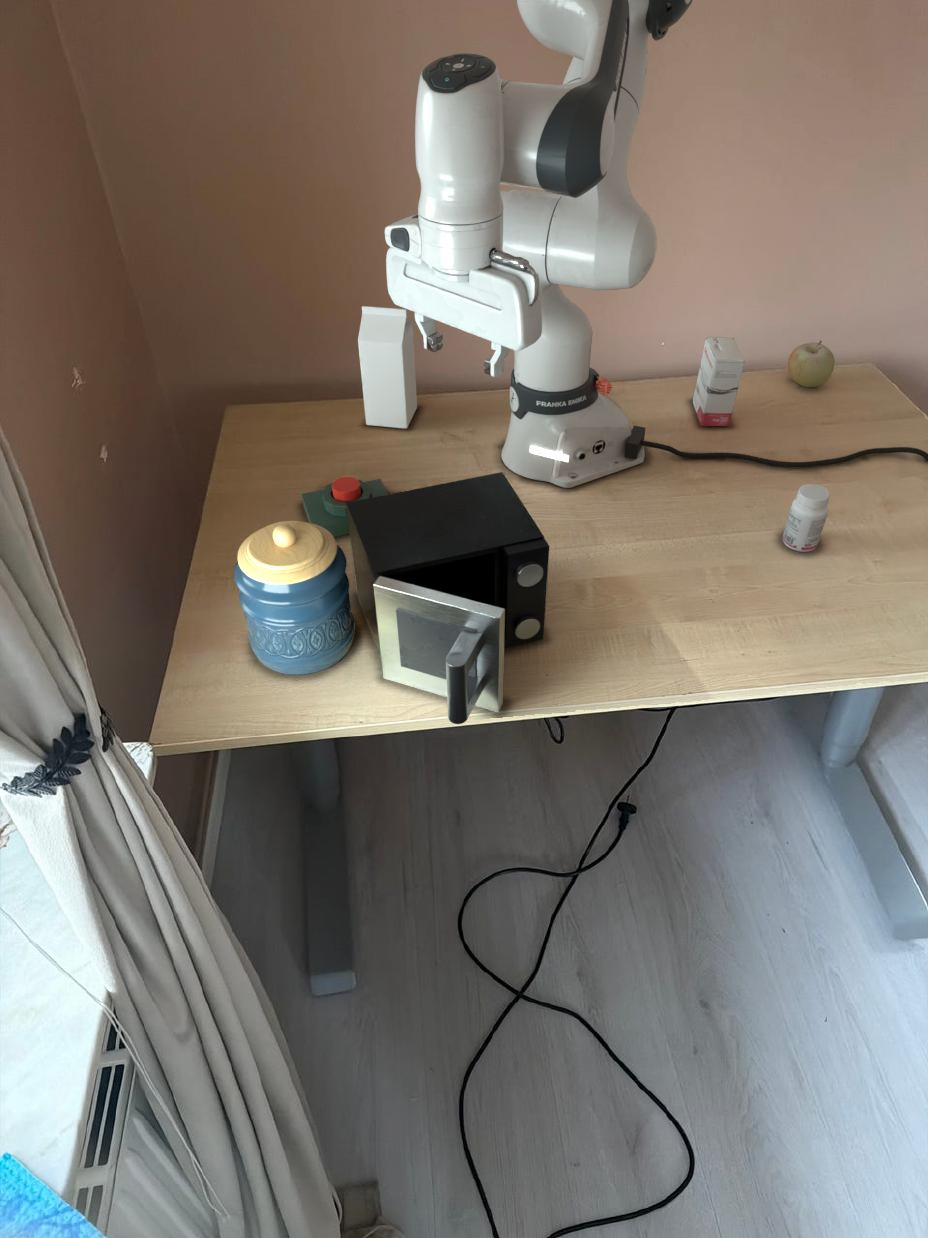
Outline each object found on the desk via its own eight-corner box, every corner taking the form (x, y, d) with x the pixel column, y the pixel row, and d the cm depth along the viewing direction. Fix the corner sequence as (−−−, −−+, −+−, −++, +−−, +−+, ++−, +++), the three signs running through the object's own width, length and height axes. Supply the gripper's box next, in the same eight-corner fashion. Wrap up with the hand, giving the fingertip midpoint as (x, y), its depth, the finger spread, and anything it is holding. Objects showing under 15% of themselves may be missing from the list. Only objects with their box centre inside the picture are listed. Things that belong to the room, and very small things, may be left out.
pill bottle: (818, 535, 126) (834, 485, 120) (816, 555, 123) (832, 505, 117) (783, 529, 127) (797, 479, 121) (780, 549, 124) (795, 498, 118)
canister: (362, 668, 108) (347, 553, 96) (253, 685, 106) (224, 571, 94) (349, 598, 117) (334, 486, 105) (249, 613, 115) (222, 500, 103)
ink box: (731, 427, 147) (746, 360, 139) (700, 427, 148) (713, 360, 139) (721, 400, 154) (734, 335, 146) (691, 401, 154) (703, 335, 146)
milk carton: (407, 429, 148) (400, 319, 135) (365, 425, 149) (355, 315, 136) (417, 408, 153) (411, 299, 140) (377, 404, 154) (368, 296, 142)
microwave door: (479, 748, 99) (479, 654, 89) (361, 711, 103) (348, 617, 93) (502, 703, 103) (505, 608, 93) (389, 669, 108) (379, 575, 98)
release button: (357, 484, 130) (356, 474, 129) (363, 499, 128) (362, 489, 126) (330, 489, 130) (329, 479, 128) (336, 504, 127) (335, 494, 125)
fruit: (826, 375, 160) (839, 332, 155) (829, 394, 155) (841, 351, 149) (782, 370, 161) (793, 328, 156) (783, 390, 156) (794, 347, 151)
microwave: (545, 644, 111) (552, 548, 100) (389, 682, 106) (379, 586, 96) (500, 564, 122) (502, 471, 112) (357, 596, 118) (345, 502, 108)
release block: (381, 490, 135) (379, 468, 133) (397, 524, 129) (395, 501, 126) (303, 505, 133) (299, 483, 130) (315, 541, 127) (311, 518, 124)
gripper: (558, 254, 91) (551, 379, 100) (413, 209, 101) (419, 327, 110) (518, 272, 87) (515, 400, 97) (373, 225, 97) (382, 345, 107)
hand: (463, 361), depth 104 cm, fingers open, 8 cm apart
